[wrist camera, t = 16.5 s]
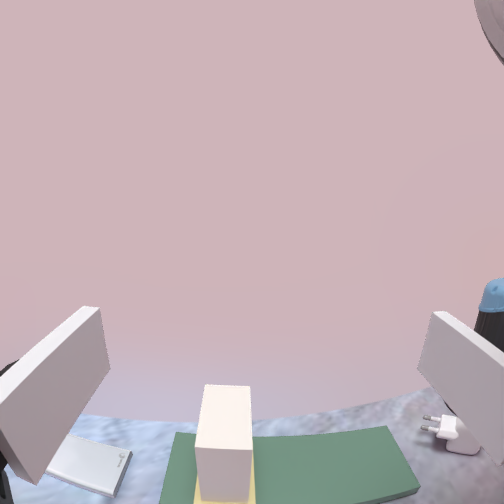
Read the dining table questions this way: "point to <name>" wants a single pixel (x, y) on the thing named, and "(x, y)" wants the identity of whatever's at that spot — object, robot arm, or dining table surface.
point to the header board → (305, 470)
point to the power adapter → (454, 434)
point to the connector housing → (224, 444)
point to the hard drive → (90, 465)
